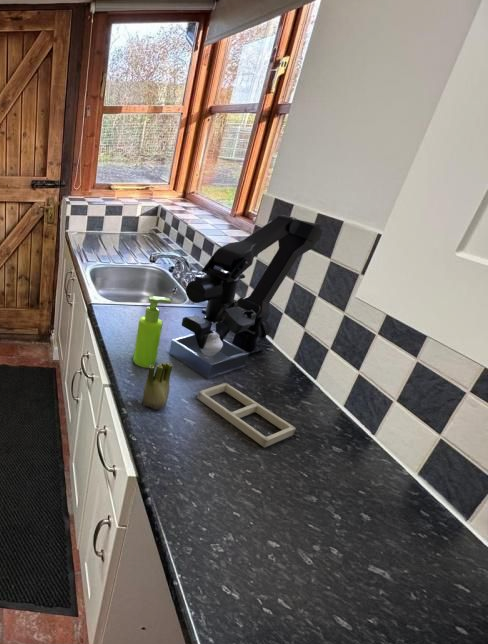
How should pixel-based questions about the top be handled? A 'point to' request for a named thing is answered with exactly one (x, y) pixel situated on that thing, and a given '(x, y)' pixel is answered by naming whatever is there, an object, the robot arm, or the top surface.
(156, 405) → the fennel bulb
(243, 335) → the robot arm
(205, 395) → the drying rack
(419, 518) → the top surface
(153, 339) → the soap dispenser
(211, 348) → the white spiral shell
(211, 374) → the blue-grey square tray
